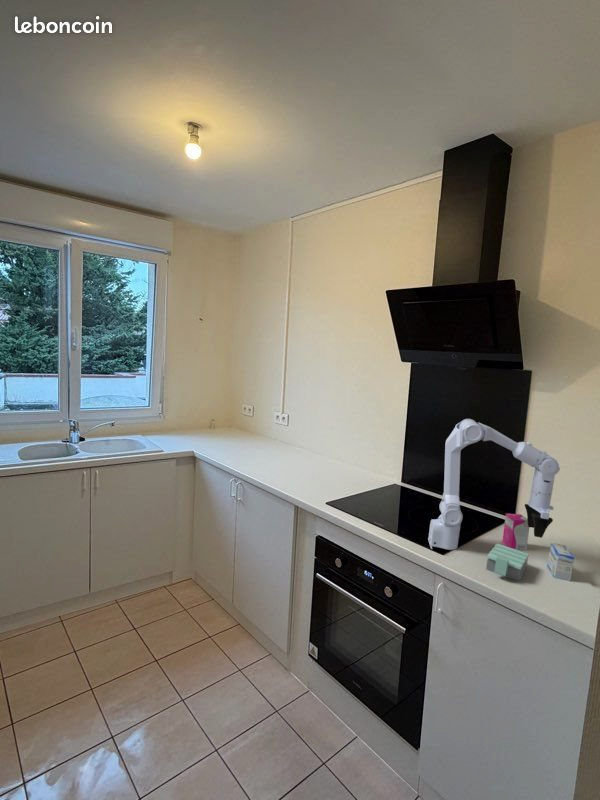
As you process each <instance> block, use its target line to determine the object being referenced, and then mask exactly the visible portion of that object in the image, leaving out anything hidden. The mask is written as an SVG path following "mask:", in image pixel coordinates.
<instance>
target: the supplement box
mask: <svg viewBox="0 0 600 800" xmlns="http://www.w3.org/2000/svg"><path fill="white" fill-rule="evenodd" d="M503 526H504V527H503V534H502V541H501V542H502V544H504V546H507V547H510V548H513V549H516V550H519V551H527V548H528V541H529V535H530V534H529V533H530V527H528V520H527V517H525V516H524V515H523V514H521V513H520V514H519V513H505V519H504V525H503Z"/></svg>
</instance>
